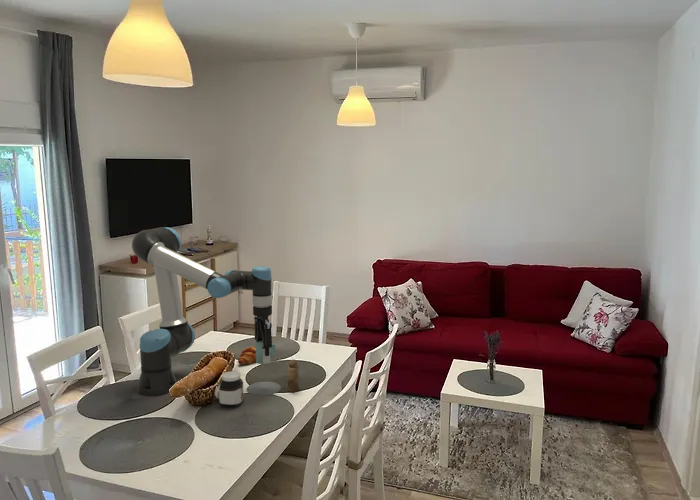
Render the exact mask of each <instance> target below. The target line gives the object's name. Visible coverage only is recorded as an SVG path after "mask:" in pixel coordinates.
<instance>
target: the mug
mask: <svg viewBox="0 0 700 500" xmlns="http://www.w3.org/2000/svg"><path fill="white" fill-rule="evenodd" d="M255 347H256V364H260V365H264V364H263V349H262V347H264V346H263V340H261V341H257V342H255ZM274 355H276V344H275V343H272V347H271V348H270V363H271V362H272V356H274ZM267 364H269V363H266V364H265V365H267Z"/></svg>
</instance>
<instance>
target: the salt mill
mask: <svg viewBox="0 0 700 500" xmlns="http://www.w3.org/2000/svg"><path fill="white" fill-rule="evenodd" d="M299 370H300V369H299V365H298V361H297V360H296V359H291V360H289V362H288V365H287V391H288V392H289V393H296V392H299V387H300V386H299V380H300V379H299V376H300V375H299V374H300V372H299Z"/></svg>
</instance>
